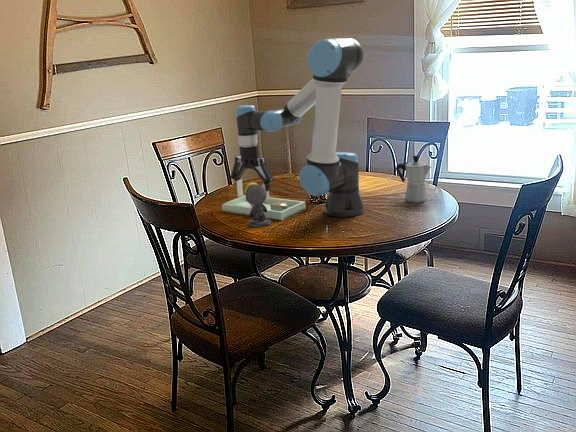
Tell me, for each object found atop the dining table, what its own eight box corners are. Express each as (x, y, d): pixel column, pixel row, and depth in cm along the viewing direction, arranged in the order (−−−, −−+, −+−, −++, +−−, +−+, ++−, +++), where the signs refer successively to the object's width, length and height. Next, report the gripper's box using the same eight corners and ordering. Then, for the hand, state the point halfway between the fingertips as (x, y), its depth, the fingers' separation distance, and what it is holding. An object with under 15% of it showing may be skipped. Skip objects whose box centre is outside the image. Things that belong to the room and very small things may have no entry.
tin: (291, 209, 230) (291, 202, 229) (281, 213, 225) (281, 207, 224) (277, 207, 234) (277, 200, 233) (267, 211, 229) (266, 205, 228)
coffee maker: (435, 198, 234) (435, 154, 229) (427, 204, 227) (427, 158, 222) (400, 195, 242) (400, 152, 237) (391, 200, 235) (391, 156, 230)
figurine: (257, 218, 223) (254, 180, 219) (277, 222, 217) (274, 183, 213) (241, 225, 217) (238, 186, 213) (261, 229, 211) (258, 188, 207)
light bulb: (243, 208, 234) (242, 184, 232) (247, 204, 241) (246, 180, 238) (259, 208, 233) (258, 184, 230) (263, 204, 239) (262, 181, 237)
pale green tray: (305, 209, 232) (305, 201, 231) (282, 220, 219) (281, 212, 219) (247, 201, 249) (246, 194, 248) (222, 211, 237) (221, 204, 236)
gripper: (279, 144, 225) (283, 197, 231) (230, 142, 239) (235, 192, 246) (267, 148, 219) (272, 202, 225) (218, 145, 234) (224, 196, 240)
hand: (253, 197), depth 235 cm, fingers open, 13 cm apart
